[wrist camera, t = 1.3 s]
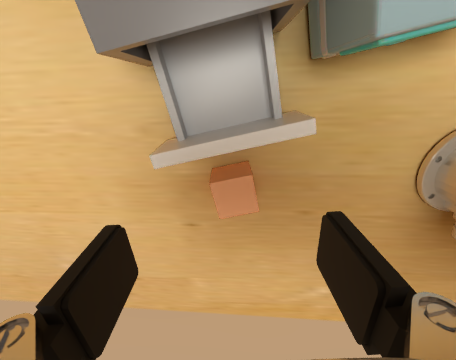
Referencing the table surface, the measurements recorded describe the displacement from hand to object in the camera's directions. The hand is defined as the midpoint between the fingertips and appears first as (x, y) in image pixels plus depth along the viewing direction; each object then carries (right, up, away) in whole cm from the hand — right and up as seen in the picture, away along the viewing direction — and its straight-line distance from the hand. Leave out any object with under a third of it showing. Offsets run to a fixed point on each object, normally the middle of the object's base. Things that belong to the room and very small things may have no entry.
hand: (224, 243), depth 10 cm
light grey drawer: (-1, +16, +12) cm, 20 cm away
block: (+1, +3, +19) cm, 20 cm away
